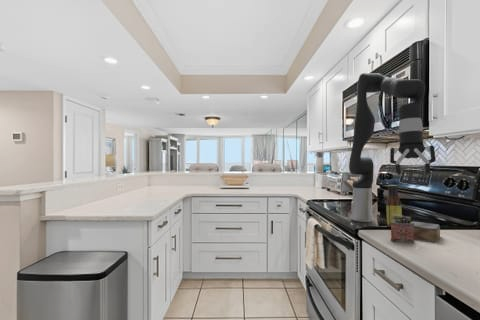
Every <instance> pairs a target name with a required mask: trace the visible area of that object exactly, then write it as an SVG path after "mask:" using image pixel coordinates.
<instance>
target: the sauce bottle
mask: <svg viewBox="0 0 480 320" xmlns="http://www.w3.org/2000/svg"><path fill="white" fill-rule="evenodd" d="M398 188H399V187H398V185H397V184H388V185H387V191H388V195H387V197H386V201H385V204H386V205H385V207H386V208H385V210H386V224H387V227H388V226H390V227H391V221H396V219H393V216H400V217H401V216H403V213H402V201H401V199H400V196H399V193H398V192H399V191H398ZM390 227H389V228H390Z"/></svg>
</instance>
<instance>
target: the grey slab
mask: <svg viewBox="0 0 480 320" xmlns="http://www.w3.org/2000/svg"><path fill="white" fill-rule="evenodd" d="M411 222H413V223H414V240H420V241H424V242H432V243H438V241H439V239H440V238H441V226H440V224H437V223H429V222H420V221H411Z"/></svg>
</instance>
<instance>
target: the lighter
mask: <svg viewBox="0 0 480 320" xmlns="http://www.w3.org/2000/svg"><path fill="white" fill-rule="evenodd" d="M393 219H396V221H391V228H390V232H391V233H390V235H391V238H390V241H391V242H393V243H402V244H403V243H405V244H414V243H415V239H414V223H413V222H412V221H411V216H405V215H402V216H401V217H400V216H393Z"/></svg>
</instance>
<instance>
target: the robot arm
mask: <svg viewBox="0 0 480 320" xmlns="http://www.w3.org/2000/svg"><path fill="white" fill-rule="evenodd" d="M356 90H357V91H356V109H355V110H356V111H355V119H354V127H353V138H352V146H351V152H350V157H349V163H348V170H349V172H350V174H351V175H353V176H354V175H355V176H356V175H357V176H359V175H361V177H360V178H359V179H357V180H355V181H353V182H352V201H351V202H350V203H351V205H350V206H351V211H350V212H351V221H355V222H358V223H359V222H360V223H361V222H362V223H370V222H371V223H372V222H373V183H374V172H375V171H374V167H375V166H374V161H373V159H372V158H370V157H369V156H365V157H364V156H362V152H363V150H364V147H365V146H366V144H367V143H368V141H369V140H370V139H371V137H372V136H373V135H374V132H375V125H376V124H375V123H376V119H375V115H374V113H373V112H372V110H371V108H370V106H369V103H368V98H367V95H368V94H369V93H370V94H371V93H373V94H374V93H380V92H383V94H385V95H386V94H387V95H390V96H392V97H394V98H395V99H410V101H409V103H404V104H401V105H400V106H399V108H398V118H399V123H398V134H399V135H398V137H399V147H390V153H389V156H390V157H389V158H390V159H389V162H390V164H394V165H395V172H396V174H398V176H400V175H402V174H401V162H402V161H403V160H404V159H418V158H420V159H421V161H423V162H424V163H425V164H424V171H425V172H424V174H425V175H429V173H431V166H430V165H431V164H433V163H435V162H436V161H437V158H436V151H435V150H436V149H435V146H434V145H430V146H428V145H427V146H425V145H424V132H423V131H424V128H423V121H422V105H423V100H424V98H425V97H424V96H425V93H426V84H425V82H424V81H423V80H422V79H419V78H418V79H417V78H416V79H415V78H414V79H413V78H411V79H410V78H409V79H408V78H407V79H406V78H405V79H403V78H400V77H399V78H398V77H388V76H386V75H384V74H382V73H377V72H375V73H374V72H373V73H372V72H364V73H363V72H362V73H360V75H359V77H358V80H357V88H356ZM425 150H426V151H427V152H428V153H429V154H430V155H429V156H430V159H428V158H427V157H426V156H425V155H424V154H423V153H424V151H425ZM397 152H399V153H400V154H401V155H400V156H399V158H397V160H395V154H397Z"/></svg>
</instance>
